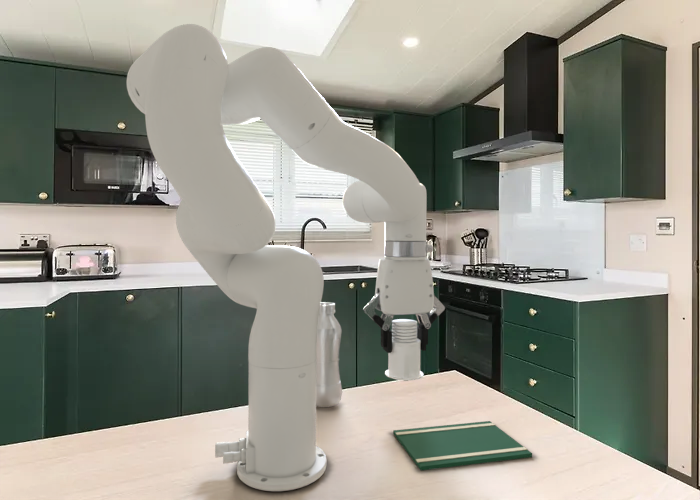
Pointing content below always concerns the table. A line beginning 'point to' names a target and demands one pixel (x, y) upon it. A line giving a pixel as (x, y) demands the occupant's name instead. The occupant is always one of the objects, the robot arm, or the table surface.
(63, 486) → the table surface
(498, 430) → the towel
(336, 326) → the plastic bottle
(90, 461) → the table surface
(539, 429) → the table surface
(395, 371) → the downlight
